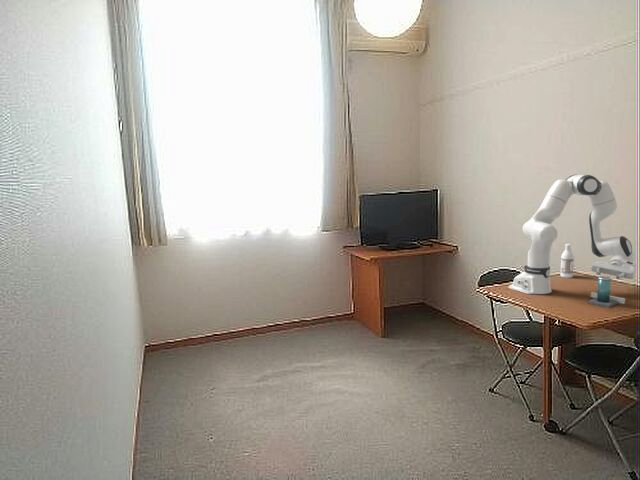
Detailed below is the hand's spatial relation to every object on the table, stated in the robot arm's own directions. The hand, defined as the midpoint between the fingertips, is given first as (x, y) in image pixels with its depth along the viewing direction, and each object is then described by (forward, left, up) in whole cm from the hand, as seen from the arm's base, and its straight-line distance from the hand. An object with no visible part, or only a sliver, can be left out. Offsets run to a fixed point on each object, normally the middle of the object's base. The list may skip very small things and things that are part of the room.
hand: (607, 275), depth 253 cm
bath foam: (-36, +27, -12) cm, 46 cm away
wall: (+2, -5, -12) cm, 13 cm away
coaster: (+3, -11, -12) cm, 17 cm away
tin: (+3, -11, -11) cm, 16 cm away
